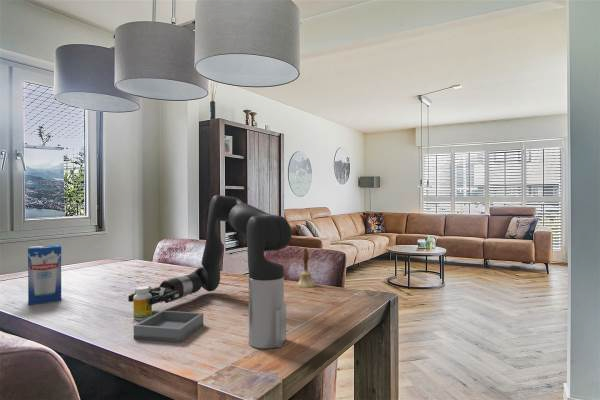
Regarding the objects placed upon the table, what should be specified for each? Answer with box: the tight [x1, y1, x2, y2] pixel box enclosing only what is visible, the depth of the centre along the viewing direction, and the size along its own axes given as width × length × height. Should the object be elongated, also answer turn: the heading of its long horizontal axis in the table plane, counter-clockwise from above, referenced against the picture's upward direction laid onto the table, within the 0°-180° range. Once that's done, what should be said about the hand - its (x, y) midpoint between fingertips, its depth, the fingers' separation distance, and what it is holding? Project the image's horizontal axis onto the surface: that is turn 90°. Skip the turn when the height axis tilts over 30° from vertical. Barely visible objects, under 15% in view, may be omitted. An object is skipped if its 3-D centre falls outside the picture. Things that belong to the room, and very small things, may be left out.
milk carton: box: [27, 244, 62, 306], centre depth 134 cm, size 10×6×20 cm, turn 123°
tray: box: [133, 310, 204, 343], centre depth 104 cm, size 14×14×4 cm
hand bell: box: [296, 248, 316, 288], centre depth 158 cm, size 8×8×16 cm
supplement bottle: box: [132, 285, 153, 321], centre depth 115 cm, size 5×5×10 cm
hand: (138, 300), depth 114 cm, fingers open, 8 cm apart
